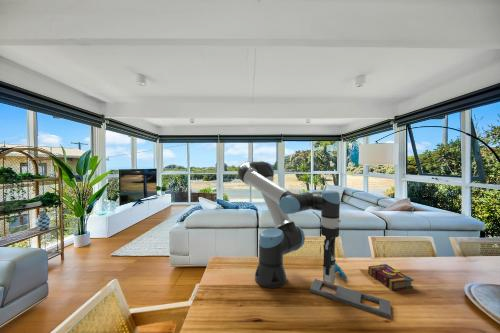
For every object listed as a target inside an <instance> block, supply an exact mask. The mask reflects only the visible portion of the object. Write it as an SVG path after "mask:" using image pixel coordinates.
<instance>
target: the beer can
mask: <svg viewBox="0 0 500 333" xmlns="http://www.w3.org/2000/svg"><path fill="white" fill-rule="evenodd" d="M335 257H336V256H335ZM335 257H334V256H333V255H331V283H330V282H326V281H324V267H323V266H322V267H323V270H322V271H323V272H322V273H323V275H322V276H323V278H322V281H324V283H326V284H327V285H333V284H334V285H335V283H336V280H335V279H336V273H335V263H336V261H335V259H336V258H335Z"/></svg>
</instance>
